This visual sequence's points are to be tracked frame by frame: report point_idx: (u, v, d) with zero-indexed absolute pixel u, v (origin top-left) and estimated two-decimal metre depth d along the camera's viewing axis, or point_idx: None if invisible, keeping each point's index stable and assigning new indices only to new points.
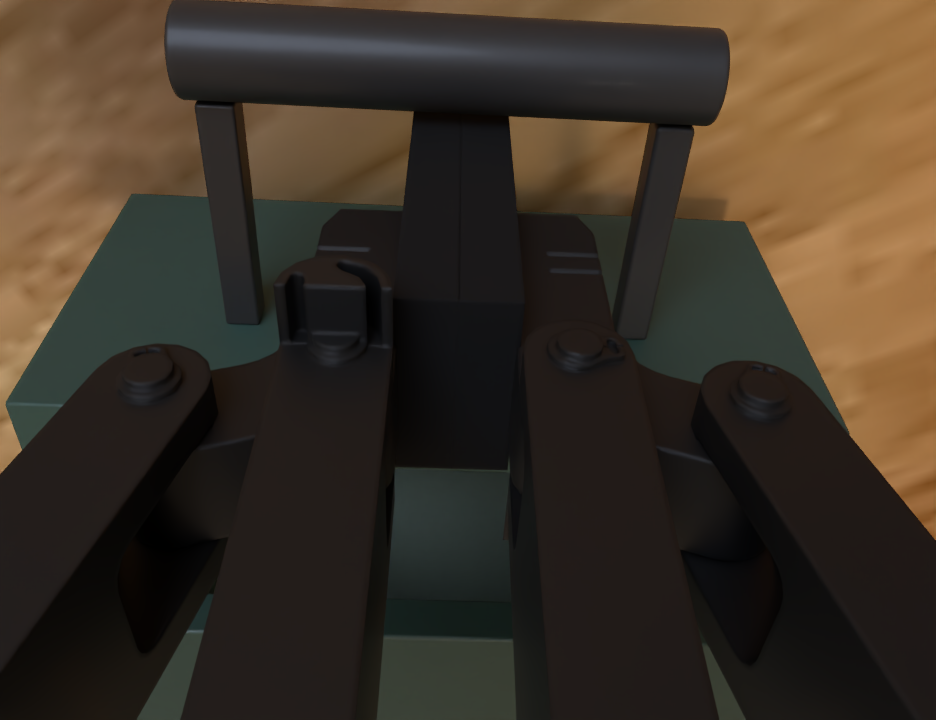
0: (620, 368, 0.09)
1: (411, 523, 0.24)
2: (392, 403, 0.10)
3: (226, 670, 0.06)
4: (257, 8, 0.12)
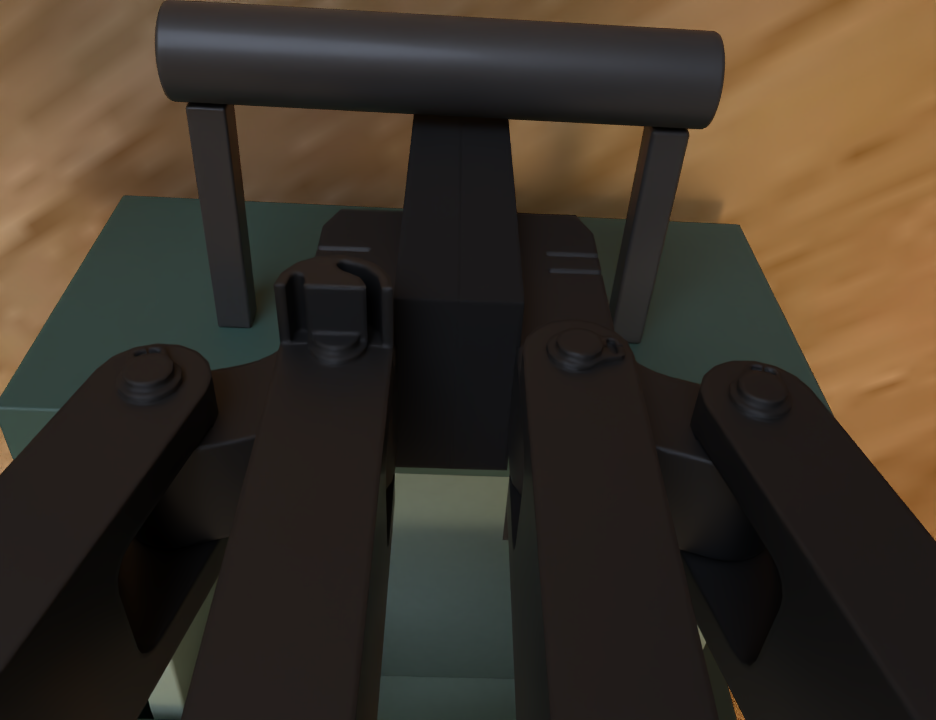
0: (619, 368, 0.09)
1: (405, 526, 0.24)
2: (392, 403, 0.10)
3: (226, 670, 0.06)
4: (250, 9, 0.12)
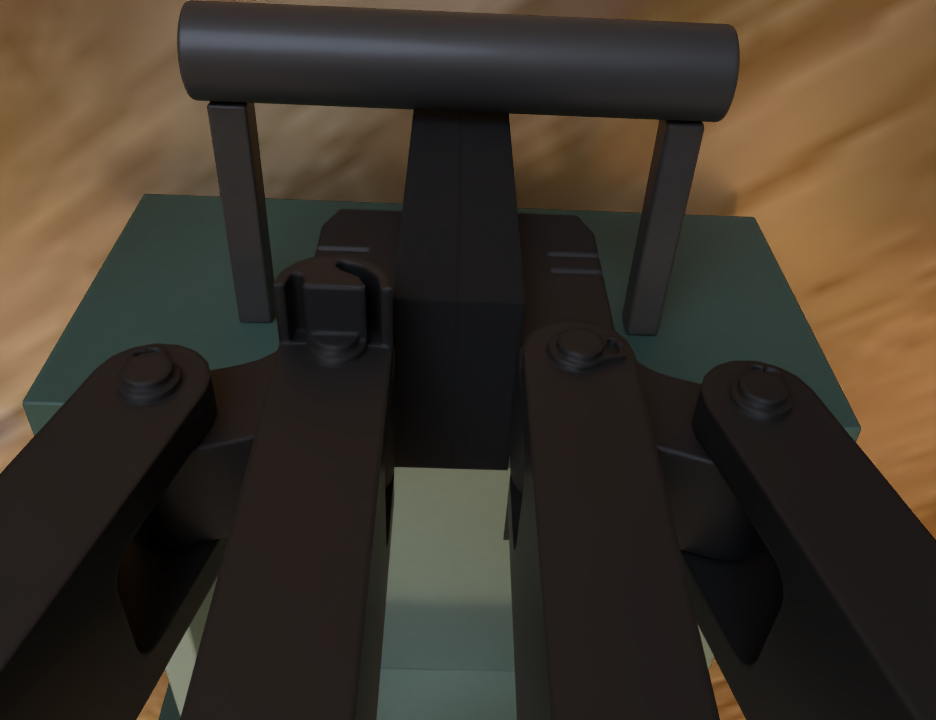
0: (620, 368, 0.09)
1: (423, 520, 0.24)
2: (391, 403, 0.10)
3: (226, 670, 0.06)
4: (270, 9, 0.12)
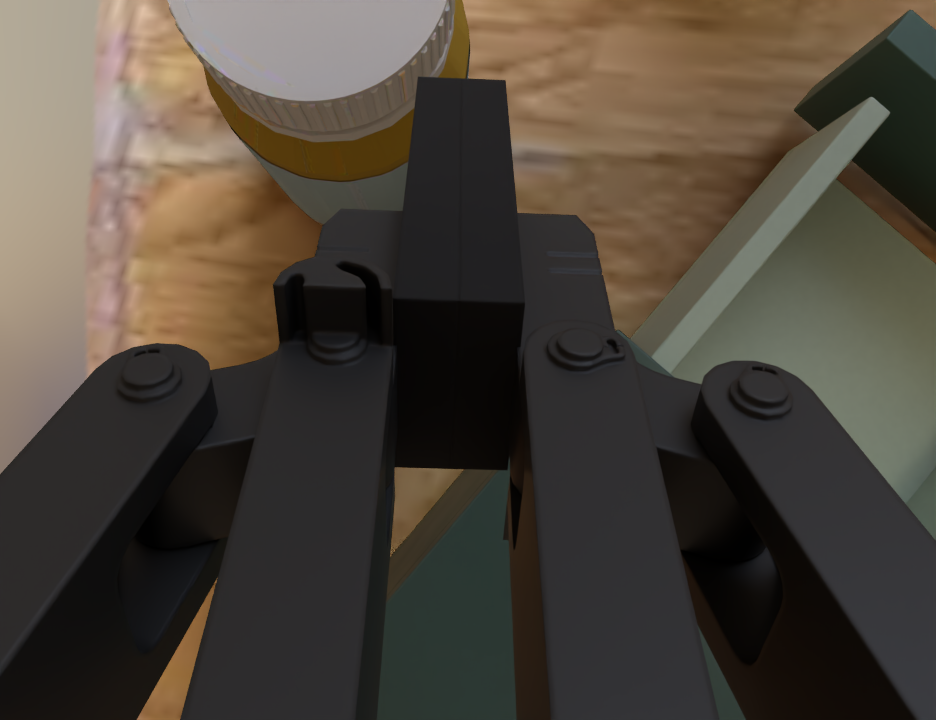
0: (620, 368, 0.09)
1: None
2: (392, 403, 0.10)
3: (226, 670, 0.06)
4: None
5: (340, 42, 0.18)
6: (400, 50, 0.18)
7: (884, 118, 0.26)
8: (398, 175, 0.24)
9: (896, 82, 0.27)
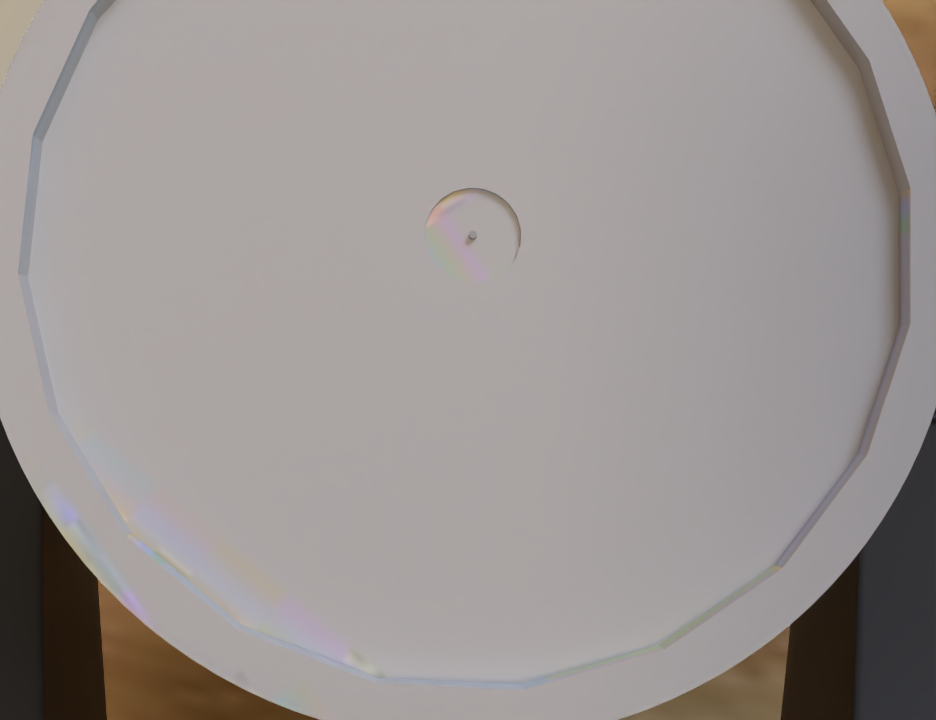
0: None
1: None
2: None
3: None
4: None
5: (551, 526, 0.05)
6: (755, 580, 0.05)
7: None
8: None
9: None
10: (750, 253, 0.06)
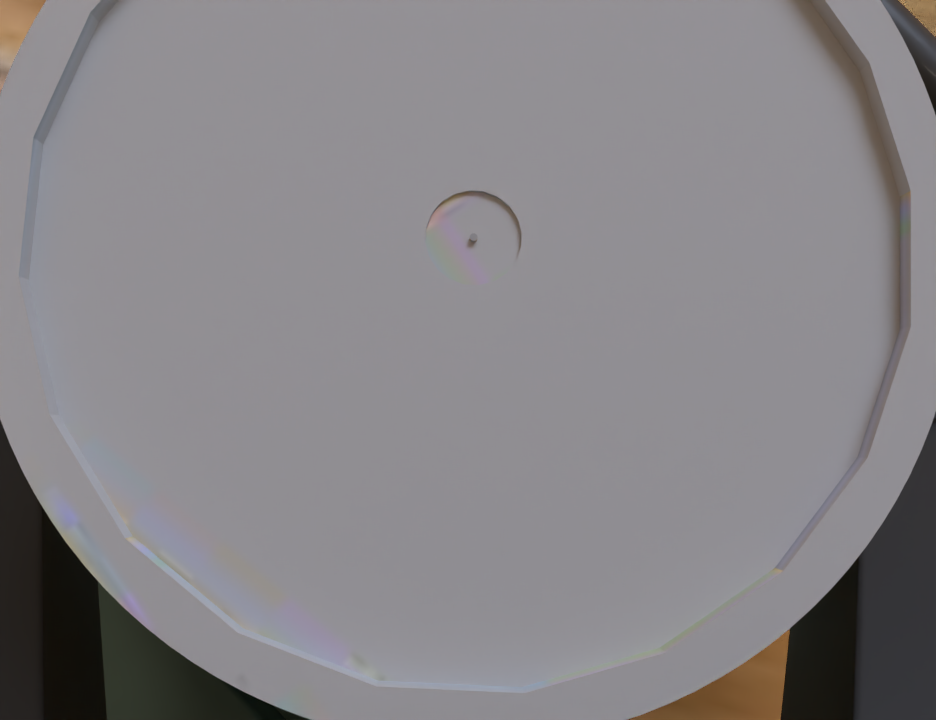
0: None
1: None
2: None
3: None
4: None
5: (553, 529, 0.05)
6: (756, 583, 0.05)
7: None
8: None
9: None
10: (751, 257, 0.06)
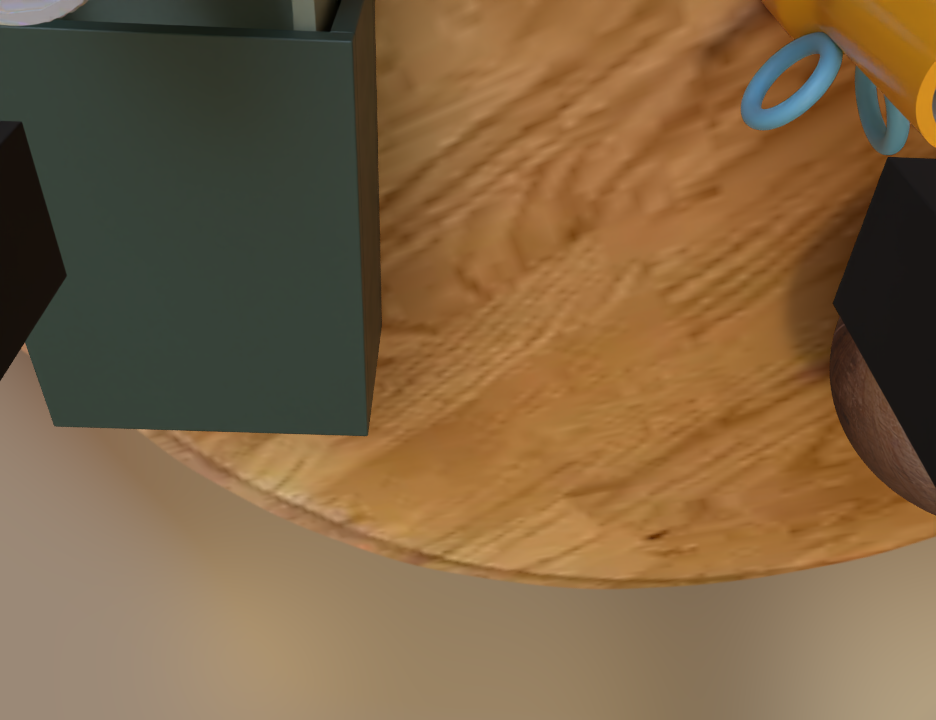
0: None
1: None
2: None
3: None
4: None
5: None
6: None
7: None
8: None
9: None
10: None
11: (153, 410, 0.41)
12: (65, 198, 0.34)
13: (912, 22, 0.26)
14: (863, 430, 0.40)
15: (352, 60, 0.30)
